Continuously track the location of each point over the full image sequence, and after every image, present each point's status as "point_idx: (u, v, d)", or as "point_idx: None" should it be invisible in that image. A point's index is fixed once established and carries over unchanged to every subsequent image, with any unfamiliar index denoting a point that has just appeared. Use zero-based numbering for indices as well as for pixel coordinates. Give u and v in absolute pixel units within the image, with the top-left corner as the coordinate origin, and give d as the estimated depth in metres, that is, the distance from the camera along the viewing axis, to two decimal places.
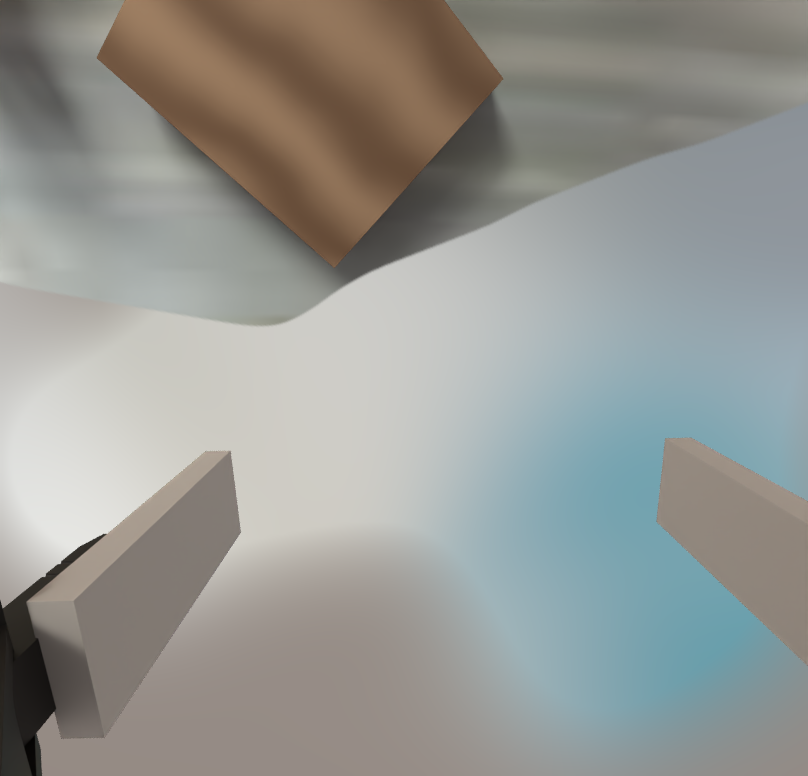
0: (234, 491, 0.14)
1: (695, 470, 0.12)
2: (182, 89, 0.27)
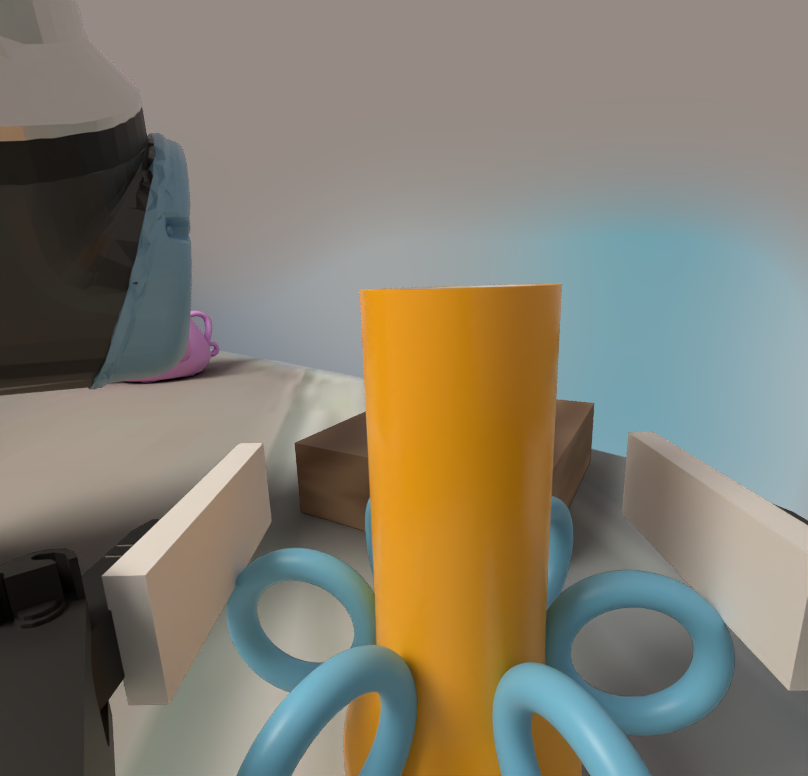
0: (265, 482, 0.14)
1: (653, 462, 0.12)
2: None
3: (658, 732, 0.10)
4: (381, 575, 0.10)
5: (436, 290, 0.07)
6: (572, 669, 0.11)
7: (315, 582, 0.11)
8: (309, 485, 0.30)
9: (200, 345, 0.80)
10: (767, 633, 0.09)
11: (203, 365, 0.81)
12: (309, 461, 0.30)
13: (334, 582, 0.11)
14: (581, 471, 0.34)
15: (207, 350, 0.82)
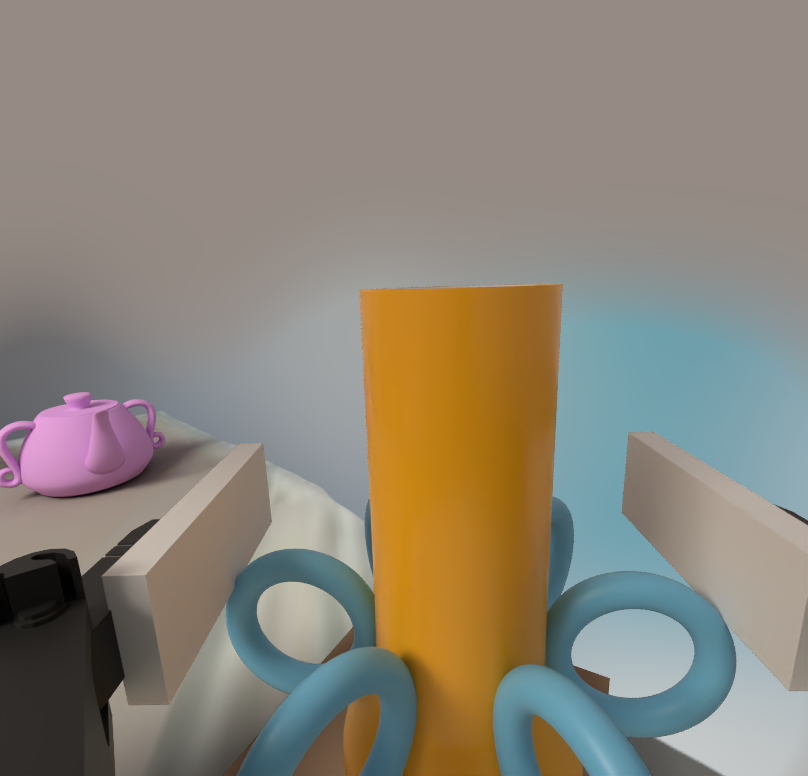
0: (265, 482, 0.14)
1: (653, 462, 0.12)
2: None
3: (659, 734, 0.10)
4: (381, 576, 0.10)
5: (436, 290, 0.07)
6: (573, 671, 0.11)
7: (315, 583, 0.11)
8: None
9: (138, 446, 0.69)
10: (767, 633, 0.09)
11: (142, 467, 0.70)
12: None
13: (334, 583, 0.11)
14: None
15: (147, 448, 0.71)
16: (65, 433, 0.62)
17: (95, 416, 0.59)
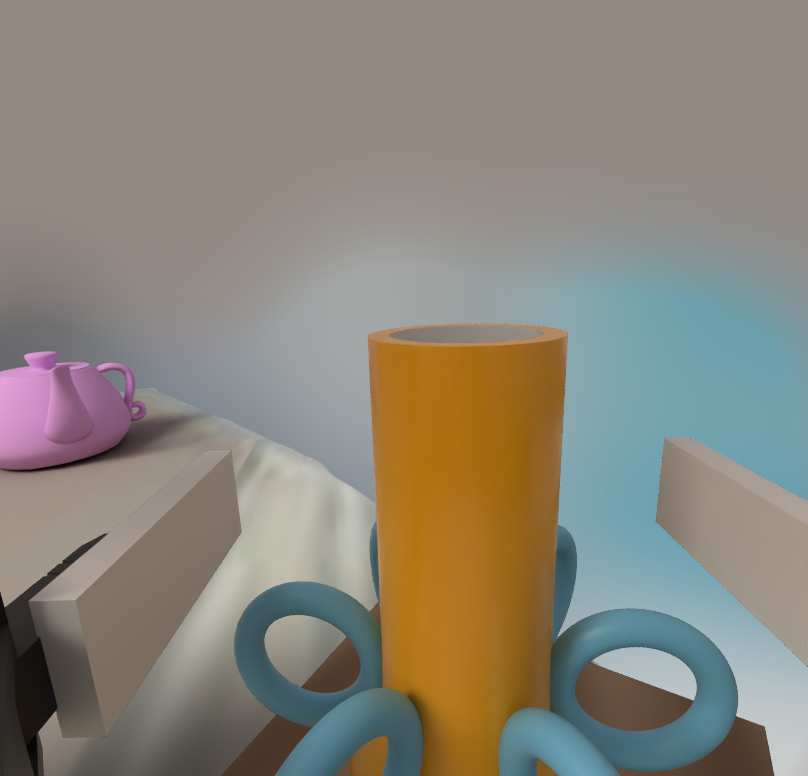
0: (234, 491, 0.14)
1: (694, 470, 0.12)
2: None
3: (662, 769, 0.11)
4: (388, 615, 0.10)
5: (445, 347, 0.07)
6: (576, 705, 0.11)
7: (322, 617, 0.11)
8: None
9: (110, 414, 0.59)
10: None
11: (116, 439, 0.61)
12: None
13: (341, 618, 0.11)
14: None
15: (122, 417, 0.61)
16: (21, 395, 0.53)
17: (53, 373, 0.50)
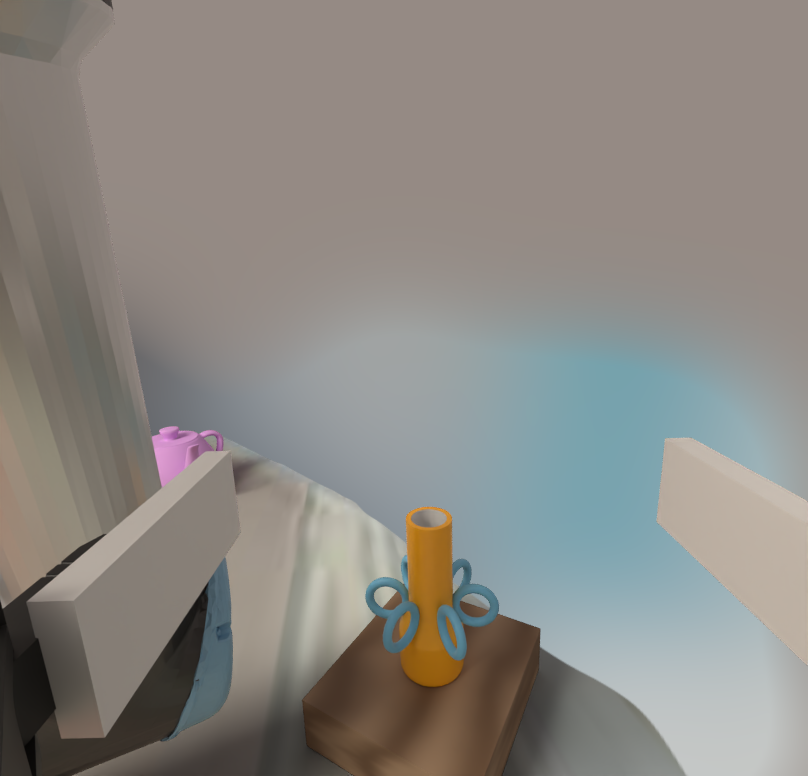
0: (234, 491, 0.14)
1: (695, 470, 0.12)
2: (471, 731, 0.36)
3: (481, 625, 0.41)
4: (410, 585, 0.40)
5: (423, 530, 0.38)
6: (460, 609, 0.41)
7: (392, 586, 0.41)
8: (313, 731, 0.39)
9: None
10: None
11: None
12: (313, 716, 0.39)
13: (397, 587, 0.41)
14: (526, 697, 0.43)
15: None
16: (164, 460, 0.83)
17: (190, 448, 0.80)
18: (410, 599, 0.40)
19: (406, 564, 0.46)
